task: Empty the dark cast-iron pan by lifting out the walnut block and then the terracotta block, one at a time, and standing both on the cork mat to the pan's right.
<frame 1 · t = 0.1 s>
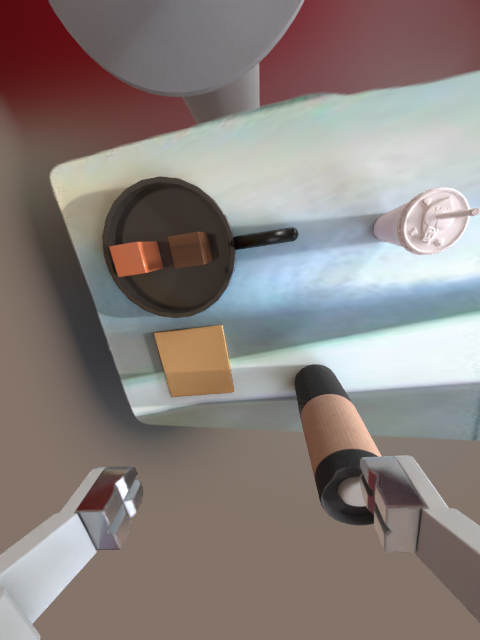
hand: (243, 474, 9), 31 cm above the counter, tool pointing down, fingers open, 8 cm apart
pan handle: (262, 239, 35), on the counter
travel mug: (314, 381, 42), on the counter
pan: (173, 252, 37), on the counter
terracotta block: (148, 256, 37), resting on pan
walnut block: (198, 249, 36), resting on pan
mat: (195, 362, 42), on the counter
smoothie: (386, 227, 33), on the counter
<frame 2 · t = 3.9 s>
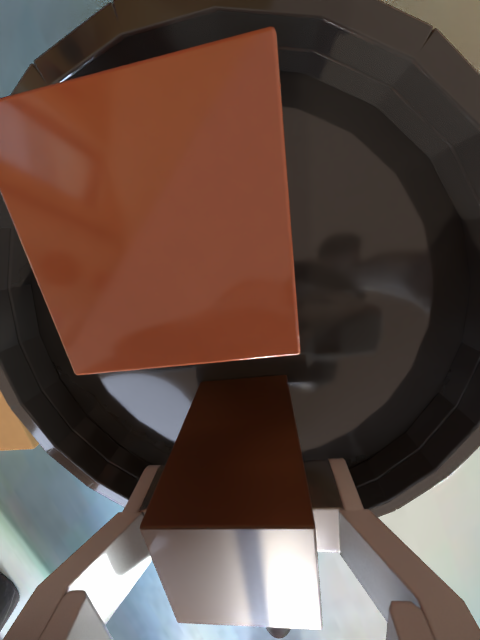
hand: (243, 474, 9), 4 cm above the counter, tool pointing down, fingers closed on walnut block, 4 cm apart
pan: (236, 333, 11), on the counter
terracotta block: (219, 241, 9), resting on pan
walnut block: (248, 413, 11), point 1 cm above the counter, touching gripper, pan
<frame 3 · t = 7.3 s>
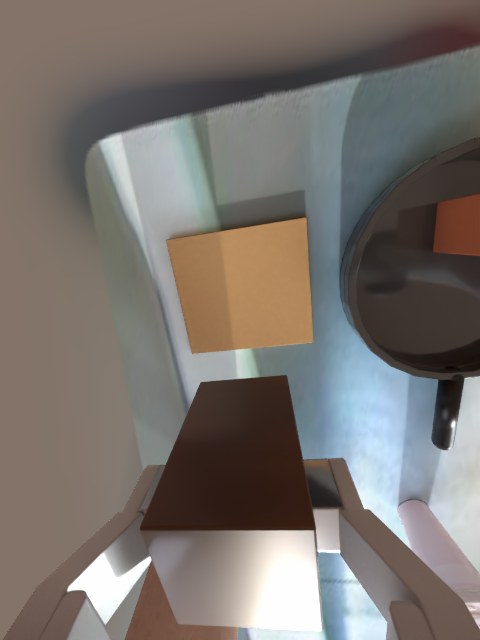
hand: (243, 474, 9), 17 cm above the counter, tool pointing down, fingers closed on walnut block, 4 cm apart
pan handle: (434, 398, 26), on the counter
travel mug: (220, 450, 31), on the counter
pan: (450, 271, 22), on the counter
terracotta block: (460, 224, 20), resting on pan
walnut block: (248, 414, 11), point 14 cm above the counter, touching gripper
mat: (243, 292, 24), on the counter
smoothie: (411, 508, 31), on the counter
when the fingers open (3 cm above the counter, at t = 10.5 s): walnut block stays where it is, resting on mat.
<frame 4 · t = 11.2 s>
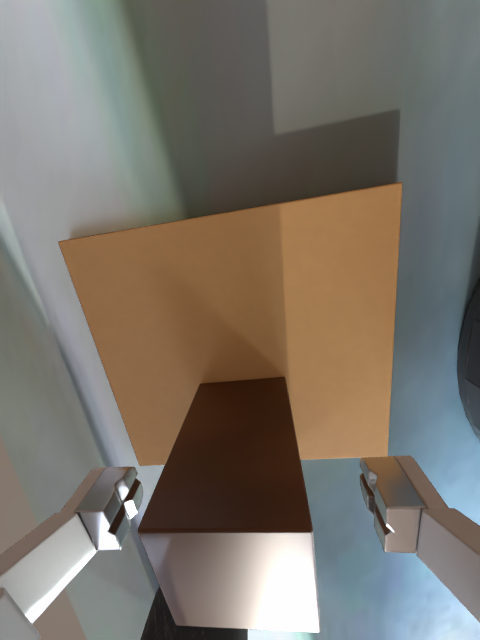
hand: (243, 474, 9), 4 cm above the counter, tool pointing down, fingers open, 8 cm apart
travel mug: (201, 600, 18), on the counter
walnut block: (247, 415, 11), resting on mat
mat: (239, 354, 11), on the counter
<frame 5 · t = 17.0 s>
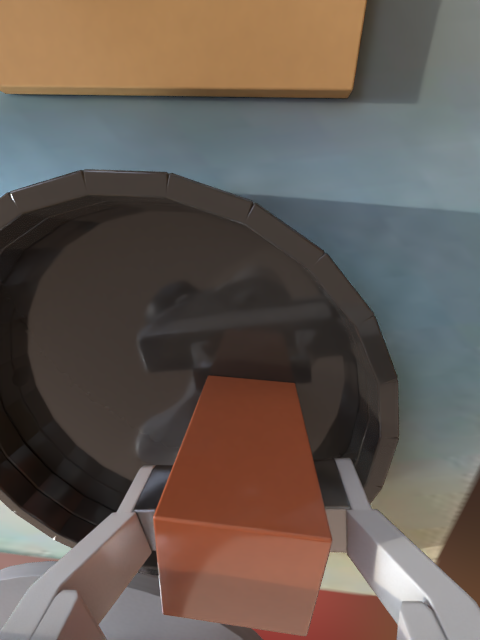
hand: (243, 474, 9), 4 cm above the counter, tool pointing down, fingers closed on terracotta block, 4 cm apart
pan: (171, 399, 12), on the counter
terracotta block: (248, 414, 11), point 1 cm above the counter, touching gripper, pan
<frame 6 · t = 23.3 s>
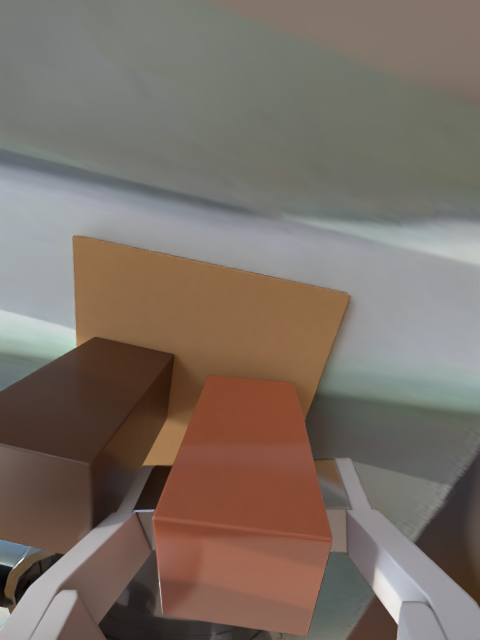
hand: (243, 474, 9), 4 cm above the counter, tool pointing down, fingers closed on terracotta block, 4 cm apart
pan: (155, 584, 19), on the counter
terracotta block: (248, 413, 11), point 1 cm above the counter, touching gripper
walnut block: (132, 379, 12), resting on mat
mat: (193, 387, 13), on the counter
when the fingers open (4 cm above the counter, at t = 24.8 s): terracotta block stays where it is, resting on mat.
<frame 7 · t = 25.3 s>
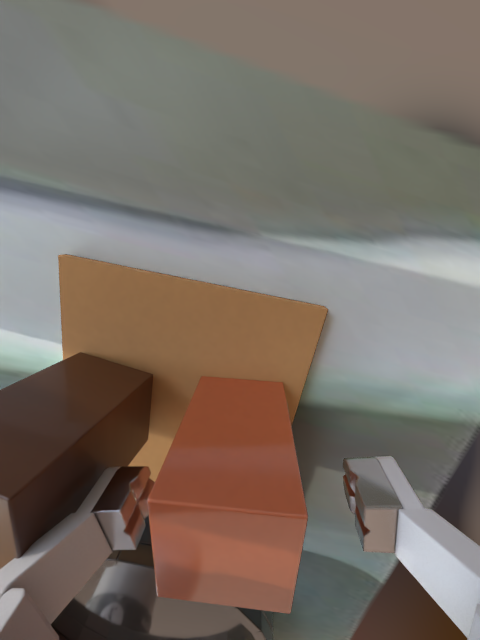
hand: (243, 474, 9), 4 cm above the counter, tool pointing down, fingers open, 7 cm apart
pan: (146, 601, 19), on the counter
terracotta block: (240, 413, 12), resting on mat
walnut block: (115, 396, 12), point 1 cm above the counter, tilted 8°, touching gripper, mat
mat: (179, 399, 13), on the counter
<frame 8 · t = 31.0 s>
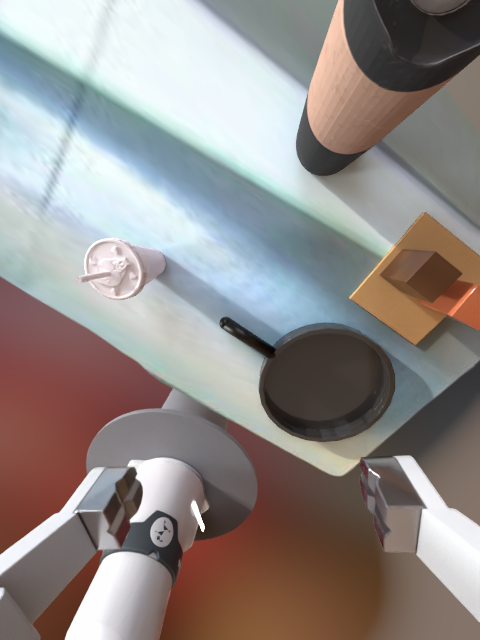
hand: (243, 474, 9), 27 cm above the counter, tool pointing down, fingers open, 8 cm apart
pan handle: (249, 333, 36), on the counter
travel mug: (326, 142, 28), on the counter
pan: (320, 380, 38), on the counter
terracotta block: (440, 296, 32), resting on mat
walnut block: (402, 271, 31), resting on mat
mat: (417, 283, 32), on the counter
smoothie: (153, 262, 34), on the counter
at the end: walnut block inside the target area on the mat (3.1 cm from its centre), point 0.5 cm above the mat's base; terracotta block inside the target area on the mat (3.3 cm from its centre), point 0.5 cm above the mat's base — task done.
